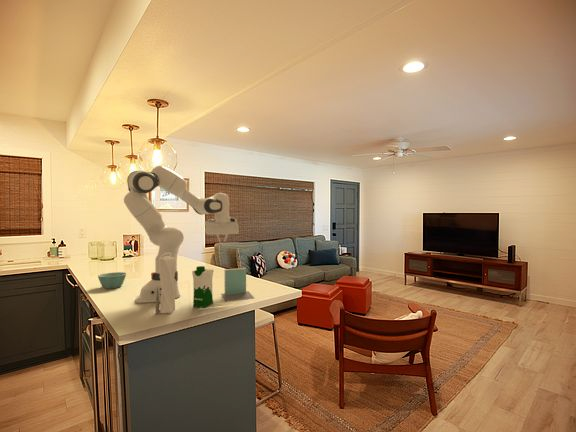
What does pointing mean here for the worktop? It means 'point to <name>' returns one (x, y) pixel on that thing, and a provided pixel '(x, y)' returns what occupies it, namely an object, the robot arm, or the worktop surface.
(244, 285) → the tile
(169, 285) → the skyscraper
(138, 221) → the robot arm
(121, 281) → the bowl
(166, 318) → the worktop surface
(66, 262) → the worktop surface
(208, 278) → the milk carton
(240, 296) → the mat
